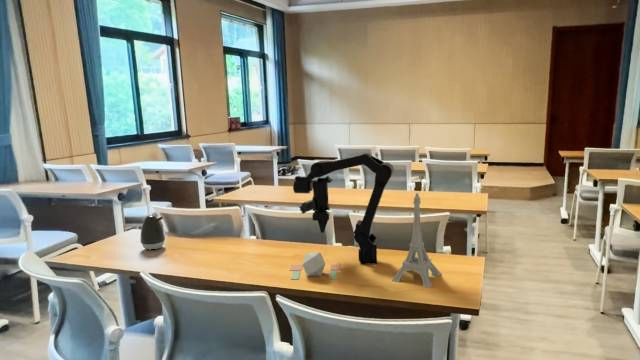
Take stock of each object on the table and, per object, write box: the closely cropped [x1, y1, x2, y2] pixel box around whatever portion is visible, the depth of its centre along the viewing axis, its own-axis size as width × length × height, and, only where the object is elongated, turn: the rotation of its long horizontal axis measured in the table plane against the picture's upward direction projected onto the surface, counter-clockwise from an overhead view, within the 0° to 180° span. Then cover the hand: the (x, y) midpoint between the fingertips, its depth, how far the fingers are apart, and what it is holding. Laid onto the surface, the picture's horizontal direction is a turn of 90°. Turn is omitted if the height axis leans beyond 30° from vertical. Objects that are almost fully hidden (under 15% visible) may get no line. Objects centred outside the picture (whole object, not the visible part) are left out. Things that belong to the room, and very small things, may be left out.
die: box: [301, 252, 326, 277], centre depth 158 cm, size 8×9×10 cm
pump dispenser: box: [139, 214, 166, 251], centre depth 194 cm, size 10×10×15 cm
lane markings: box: [289, 263, 342, 281], centre depth 161 cm, size 19×14×1 cm
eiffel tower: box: [391, 192, 442, 289], centre depth 150 cm, size 13×13×30 cm
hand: (322, 232), depth 173 cm, fingers closed
